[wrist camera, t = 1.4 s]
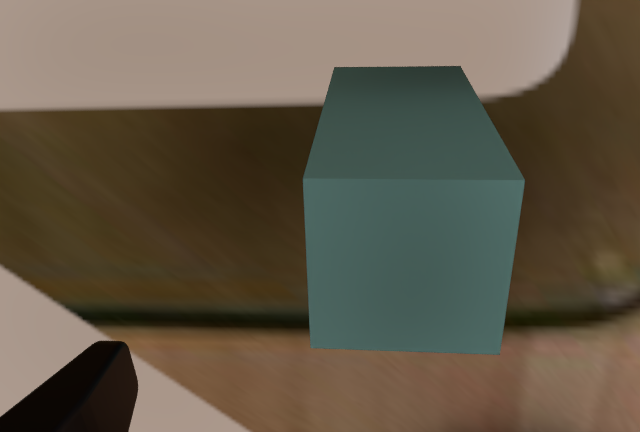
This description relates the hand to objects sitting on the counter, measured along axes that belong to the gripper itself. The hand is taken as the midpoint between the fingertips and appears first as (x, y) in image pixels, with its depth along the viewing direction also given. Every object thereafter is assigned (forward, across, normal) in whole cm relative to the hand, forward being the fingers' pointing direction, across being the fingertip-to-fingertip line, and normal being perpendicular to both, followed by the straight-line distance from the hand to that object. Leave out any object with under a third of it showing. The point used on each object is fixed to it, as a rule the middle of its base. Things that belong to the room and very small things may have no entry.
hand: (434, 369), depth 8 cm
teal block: (+12, 0, +1) cm, 12 cm away
